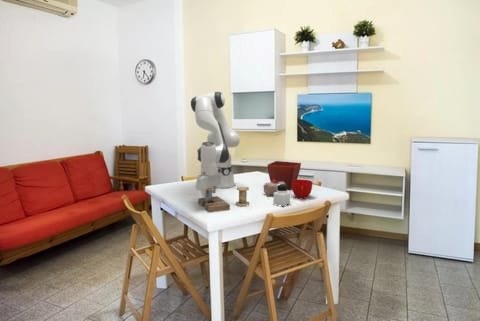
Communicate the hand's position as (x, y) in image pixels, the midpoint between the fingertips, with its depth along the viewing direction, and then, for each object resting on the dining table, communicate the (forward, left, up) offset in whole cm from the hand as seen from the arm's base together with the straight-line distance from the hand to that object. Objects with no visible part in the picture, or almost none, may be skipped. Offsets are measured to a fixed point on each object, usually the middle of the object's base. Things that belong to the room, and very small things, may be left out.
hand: (209, 194), depth 209 cm
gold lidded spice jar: (0, 0, -7) cm, 7 cm away
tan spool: (+3, +20, -7) cm, 21 cm away
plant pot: (-26, +65, -7) cm, 70 cm away
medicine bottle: (+12, +41, -7) cm, 43 cm away
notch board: (0, +3, -7) cm, 7 cm away
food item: (-9, +48, -7) cm, 49 cm away
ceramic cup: (+4, +60, -7) cm, 60 cm away
